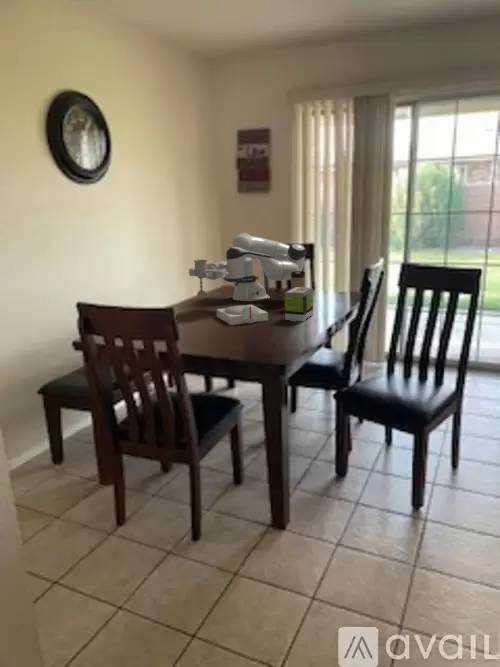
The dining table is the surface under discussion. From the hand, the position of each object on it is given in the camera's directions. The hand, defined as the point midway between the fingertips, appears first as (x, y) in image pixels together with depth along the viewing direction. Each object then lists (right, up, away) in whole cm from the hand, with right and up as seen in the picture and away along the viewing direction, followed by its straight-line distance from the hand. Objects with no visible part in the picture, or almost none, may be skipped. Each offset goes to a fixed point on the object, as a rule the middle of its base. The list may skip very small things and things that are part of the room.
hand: (200, 274), depth 253 cm
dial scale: (+21, -22, +1) cm, 31 cm away
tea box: (+50, -22, -1) cm, 55 cm away
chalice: (0, -10, +4) cm, 11 cm away
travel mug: (+51, -16, +21) cm, 58 cm away
